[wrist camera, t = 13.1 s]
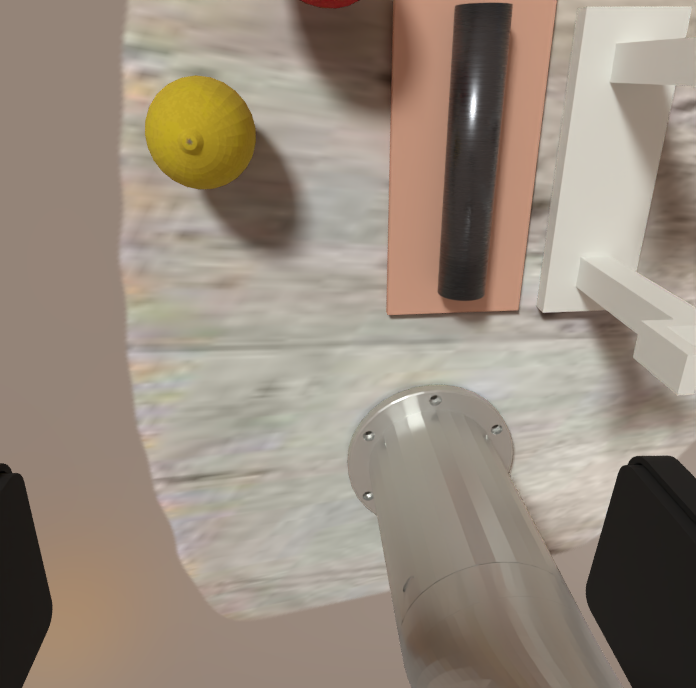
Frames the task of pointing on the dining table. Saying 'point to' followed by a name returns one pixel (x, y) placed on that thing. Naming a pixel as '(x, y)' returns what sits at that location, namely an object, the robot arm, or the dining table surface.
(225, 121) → the lemon
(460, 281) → the cylinder
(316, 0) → the strawberry
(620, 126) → the stand
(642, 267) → the dining table surface
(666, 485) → the robot arm
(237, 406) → the dining table surface
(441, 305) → the mat
